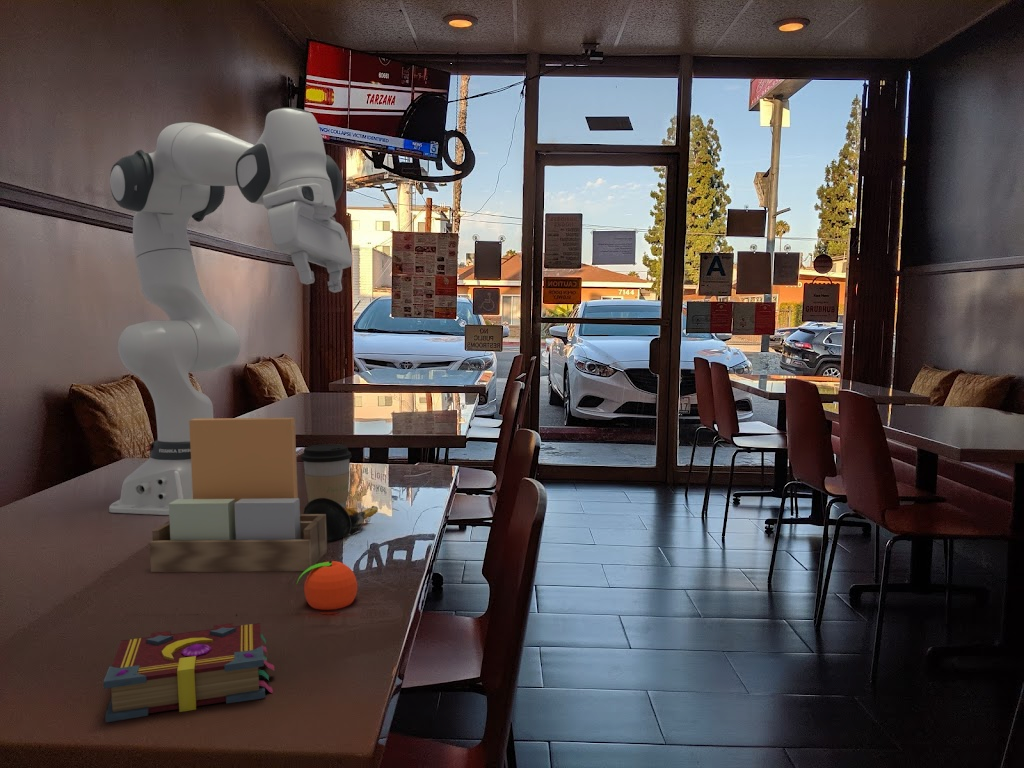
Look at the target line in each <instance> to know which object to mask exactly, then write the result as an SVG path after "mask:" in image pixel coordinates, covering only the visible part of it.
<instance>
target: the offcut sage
mask: <svg viewBox="0 0 1024 768" xmlns="http://www.w3.org/2000/svg"><path fill="white" fill-rule="evenodd" d="M234 503H235V499H177V500H175V501H173V502H171V503H169V515H168V517H169V518H168V519H169V520H168V521H170V540H236V529H235V506H234Z"/></svg>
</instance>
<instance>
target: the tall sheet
mask: <svg viewBox="0 0 1024 768" xmlns="http://www.w3.org/2000/svg"><path fill="white" fill-rule="evenodd" d="M189 426H190V447H191V468H192V489H193V499H235V503H236V502H237V501H239V500H240V499H269V498H299V496H298V474H297V473H298V472H297V471H298V468H297V447H296V445H297V444H296V418H295V417H234V418H233V417H231V418H227V417H226V418H224V417H222V418H218V417H217V418H215V417H213V418H208V419H192V420H189Z"/></svg>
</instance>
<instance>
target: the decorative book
mask: <svg viewBox="0 0 1024 768" xmlns="http://www.w3.org/2000/svg"><path fill="white" fill-rule="evenodd" d="M261 630H262V629H261V622H259V623H257V622H256V623H251V624H250V623H249V624H241V625H235V626H234V624H233V622H231V623H225V624H223V623H222V624H216V625H213V628H211V629H210V628H209V629H203V630H202V629H201V630H195V631H187V632H177V633H172V631H171V630H168V631H160V632H152V633H150V636H148V637H138V638H132V639H123V640H121V641H120V643H119V646H118V649H117V652H116V654H115V657H114V659H113V662H112V665H111V666H110V665H109V667H108V669H107V672H106V675H105V677H104V679H103V682H102V683H103V685H102V686H103V690H104V689H110V691H111V692H110V693H111V699H110V701H109V704H108V707H107V710H106V713H105V716H104V717H105V719H104V720H105V723H110V722H116V721H117V722H118V721H123V720H129V719H135V718H136V719H137V718H142V717H147V716H149V714H154V713H160V712H166V711H171V710H172V711H174V710H178V712H179V713H182V712H188V711H194V710H197V707H200V706H207V705H212V704H213V705H214V704H218V703H219V704H220V703H226V705H228V704H233V703H240V702H241V703H242V702H246V701H253V700H260V699H266V690H267V691H268V692H269V693H271V694H273V693H274V690H273V687H272V686H270V685H269V684H267V682H266V681H265V679H267V680H268V681H270V680H269V679H270V676H269V674H268V673H267V672H266V671H265V670H263V667H265V666H266V667H267V668H268V669H270V670H272V671H275V665H274V664H272V663H271V662H268V655H266V656H265V655H264V652H266V653H268V650H267V647H266V646H264V645H262V640H263V642H264V644H267V640H266V638H265V636H264V635H263V633H262V632H261Z"/></svg>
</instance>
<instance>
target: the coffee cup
mask: <svg viewBox="0 0 1024 768" xmlns="http://www.w3.org/2000/svg"><path fill="white" fill-rule="evenodd" d="M352 456H353V455H352V452H351V451H350V450H349V448H348V446H347V445H345V444H340V443H325V444H323V443H322V444H316V445H315V444H314V445H313V444H312V445H309V446H305V447H304V448H303V453H302V454H300V458H299V460H300V461H302V462H303V467H304V482H305V487H306V488H305V489H306V494H307V502H308V503H309V502H310V501H312V500H314V499H318V498H327V499H331V500H333V501H336V502H337V503H339V504H340V505H341V506H343V507H345V508H347V503H348V502H347V501H348V500H349V499H348V498H349V497H348V495H349V482H350V481H349V480H350V469H349V468H350V459H351V458H353V457H352ZM308 503H307V504H308Z"/></svg>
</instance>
